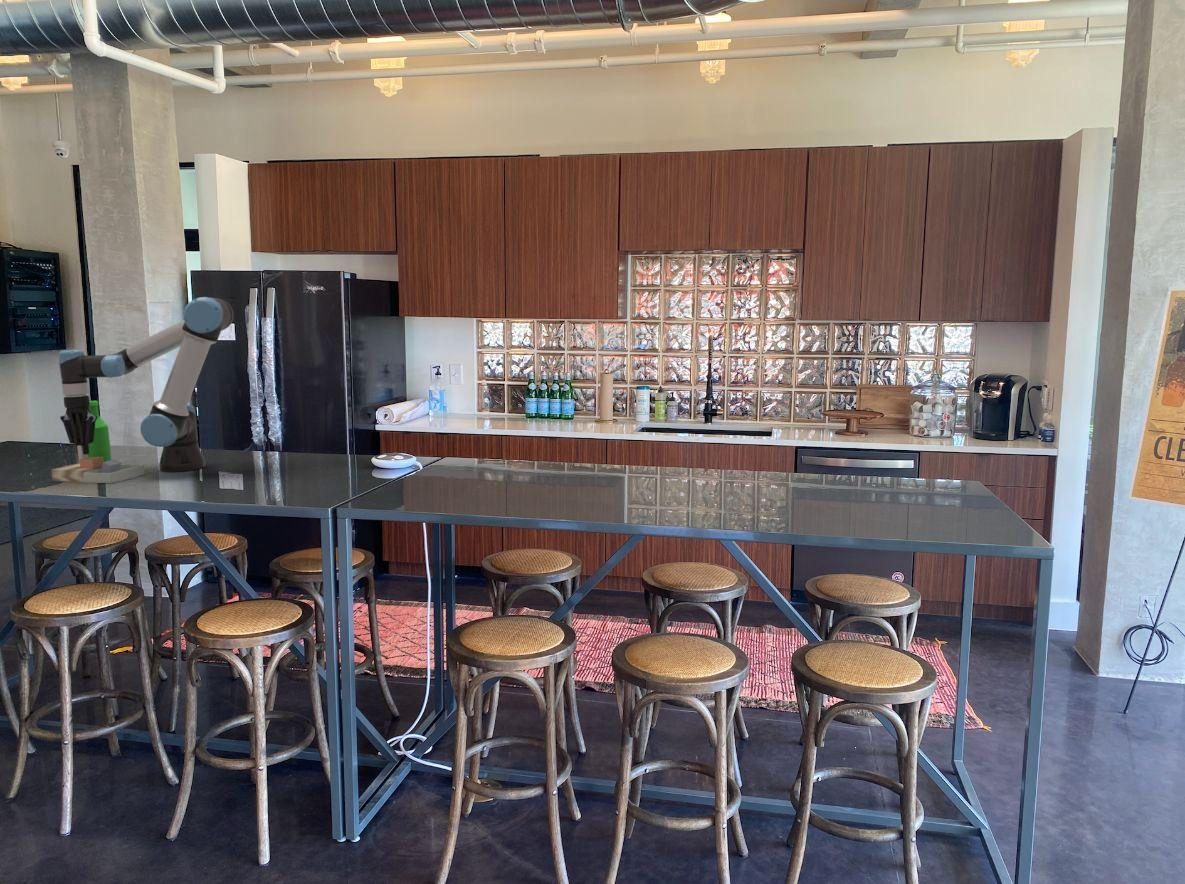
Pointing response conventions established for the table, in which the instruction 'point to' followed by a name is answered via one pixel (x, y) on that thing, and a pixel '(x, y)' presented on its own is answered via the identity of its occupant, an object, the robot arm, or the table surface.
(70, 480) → the bench plate
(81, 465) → the tile terracotta
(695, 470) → the table surface
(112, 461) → the tile slate
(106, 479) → the box
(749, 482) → the table surface
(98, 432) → the bottle
